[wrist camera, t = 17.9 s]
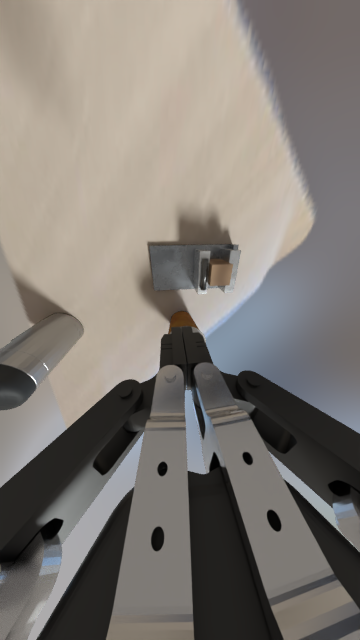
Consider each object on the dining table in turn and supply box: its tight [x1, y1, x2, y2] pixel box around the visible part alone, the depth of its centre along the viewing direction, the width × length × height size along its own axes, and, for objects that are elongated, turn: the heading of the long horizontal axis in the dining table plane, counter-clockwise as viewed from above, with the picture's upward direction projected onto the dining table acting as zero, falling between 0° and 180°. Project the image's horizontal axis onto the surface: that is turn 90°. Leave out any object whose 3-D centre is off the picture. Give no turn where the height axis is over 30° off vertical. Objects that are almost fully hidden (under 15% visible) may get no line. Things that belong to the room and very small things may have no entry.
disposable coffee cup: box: [168, 311, 206, 343], centre depth 36 cm, size 10×10×12 cm
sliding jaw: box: [193, 249, 211, 294], centre depth 30 cm, size 2×8×7 cm, turn 1°
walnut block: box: [208, 259, 233, 286], centre depth 30 cm, size 4×4×8 cm
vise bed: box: [149, 244, 241, 293], centre depth 31 cm, size 19×10×7 cm, turn 91°
